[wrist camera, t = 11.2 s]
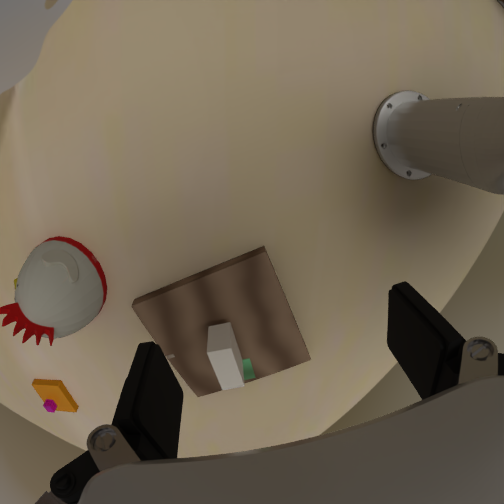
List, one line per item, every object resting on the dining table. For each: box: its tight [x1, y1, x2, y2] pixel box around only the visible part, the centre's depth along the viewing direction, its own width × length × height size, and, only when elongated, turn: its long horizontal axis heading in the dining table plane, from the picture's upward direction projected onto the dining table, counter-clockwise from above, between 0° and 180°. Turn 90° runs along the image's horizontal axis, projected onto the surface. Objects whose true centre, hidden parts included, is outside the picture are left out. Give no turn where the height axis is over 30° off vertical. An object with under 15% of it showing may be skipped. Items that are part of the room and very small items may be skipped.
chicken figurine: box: [0, 236, 107, 346], centre depth 33 cm, size 14×14×15 cm
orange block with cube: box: [32, 379, 79, 412], centre depth 47 cm, size 8×8×4 cm
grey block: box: [207, 322, 244, 390], centre depth 40 cm, size 12×3×7 cm, turn 12°
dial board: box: [132, 246, 311, 397], centre depth 44 cm, size 20×20×2 cm
